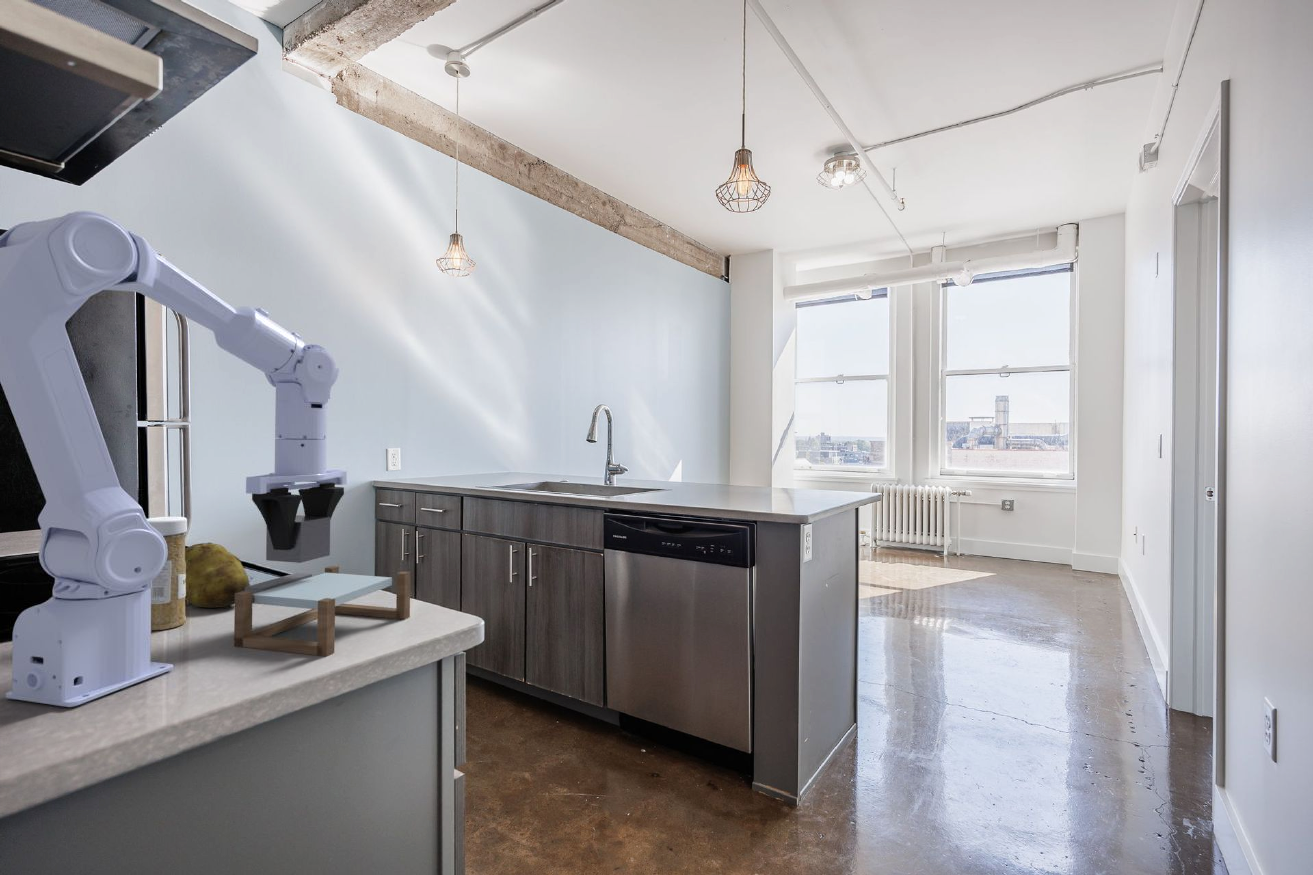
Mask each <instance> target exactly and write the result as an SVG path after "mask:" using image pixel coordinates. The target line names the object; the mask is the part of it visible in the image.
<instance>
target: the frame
mask: <svg viewBox="0 0 1313 875" xmlns="http://www.w3.org/2000/svg"><path fill="white" fill-rule="evenodd" d="M339 570H340V567H339V566H336V565H335V566H334V565H333V566H331V565H330V566H327V567H324V573H339V574H340V571H339ZM252 595H253V592H251V591H242V592H238V593H235V604H234V625H233V626H234V628H233V629H234V632H233V634H234V635H233V638H234V639H233V645H234V646H233V647H241V648H248V649H249V648H250V649H258V650H268V651H276V652H286V653H292V654H293V653H294V654H302V655H304V654H305V655H310V656H311V655H313V656H320V657H323V656H324V657H328V656H331V655H332V654H334V653H335V642H336V641H335V635H336V634H335V633H336V630H335V629H336V628H335V626H336V625H335V624H336V614H340V615H341V614H342V615H351V616H361V615H364V616H363V617H371V616H372V618H373V617H374V618H382V617H385V618H384V619H395V620H406V618H407V619H409V618H410V617H411V616H410V615H411V611H410V610H411V571H400V572H396V603H395V604H396V606H395V607H387V606H377V605H374V606H373V605H363V604H362V605H361V604H351V603H343V604H340V605H338V606H335V599H331V598H325V599H322V600H319V601H318V609H308V610H306V611H303V612H301V613H298V614H295V615H293V616H292V615H291V616H289V617H287V618H284V619H282V620H278V621H276V622H273V623H270V624H267V625H264V626H261V627H260V628H257V629H253V603H252ZM408 617H409V618H408ZM315 620H317V630H316V631H317V633H316V634H317V635H316V638H317V641H313V640H312V641H311V640H304V639H294V638H284V637H274V636H275V635H278V634H280V633H283V632H286V631H289V630H291V629H293V628H296V627H298V626H302V625H304V624H306V623H309V622H312V621H315Z"/></svg>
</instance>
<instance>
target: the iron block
mask: <svg viewBox="0 0 1313 875" xmlns="http://www.w3.org/2000/svg"><path fill="white" fill-rule="evenodd" d="M265 543H266V546H265V550H266V551H265V552H266V555H265V559H266V561H268V562H283V563H284V562H285V563H296V564H298V563H299V564H301V563H306V562H310V561H312V560H313V561H314V560H317V559H320V558H324V557H328V556H331V520H330V517H320V516H305V515H301V514H300V515H298V514H296V519H295V525H294V539H293V544H292V548H291V550H274V549H273V545H272V542H271V538H270V535H269V531H268V528H267V527H266V542H265Z"/></svg>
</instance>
